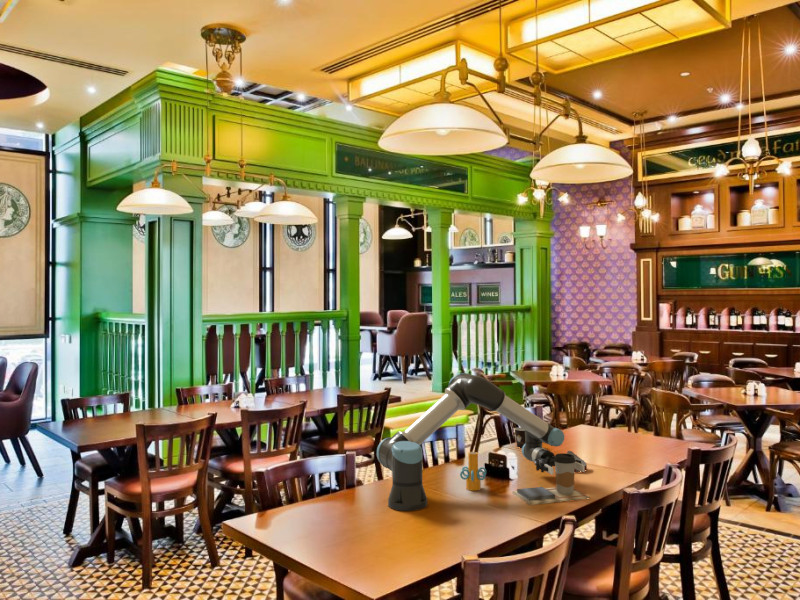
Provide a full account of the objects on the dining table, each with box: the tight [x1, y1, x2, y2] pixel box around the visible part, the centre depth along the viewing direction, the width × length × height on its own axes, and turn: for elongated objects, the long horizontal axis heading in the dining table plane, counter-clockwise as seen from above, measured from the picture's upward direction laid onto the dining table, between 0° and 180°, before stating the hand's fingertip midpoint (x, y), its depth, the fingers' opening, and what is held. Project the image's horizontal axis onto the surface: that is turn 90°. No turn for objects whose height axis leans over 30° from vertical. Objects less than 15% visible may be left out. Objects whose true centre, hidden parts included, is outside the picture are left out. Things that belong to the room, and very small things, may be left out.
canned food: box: [566, 450, 588, 472], centre depth 296 cm, size 11×10×10 cm
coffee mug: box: [514, 427, 525, 448], centre depth 341 cm, size 12×9×10 cm
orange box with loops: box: [459, 451, 487, 492], centre depth 268 cm, size 12×10×15 cm
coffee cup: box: [554, 452, 575, 495], centre depth 258 cm, size 8×8×15 cm
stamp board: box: [511, 486, 591, 506], centre depth 257 cm, size 26×16×2 cm, turn 104°
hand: (568, 470), depth 256 cm, fingers open, 13 cm apart
